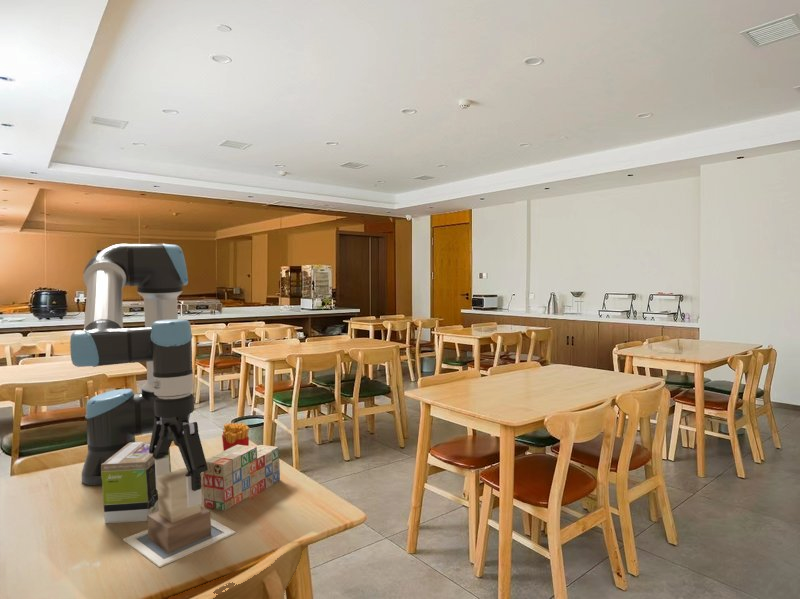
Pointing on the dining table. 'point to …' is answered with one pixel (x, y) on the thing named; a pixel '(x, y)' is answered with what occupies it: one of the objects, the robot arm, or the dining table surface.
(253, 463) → the stack of blocks
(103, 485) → the tea box
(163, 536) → the walnut base block
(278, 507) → the dining table surface
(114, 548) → the dining table surface
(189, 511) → the beech brick
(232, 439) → the french fries
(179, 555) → the board
